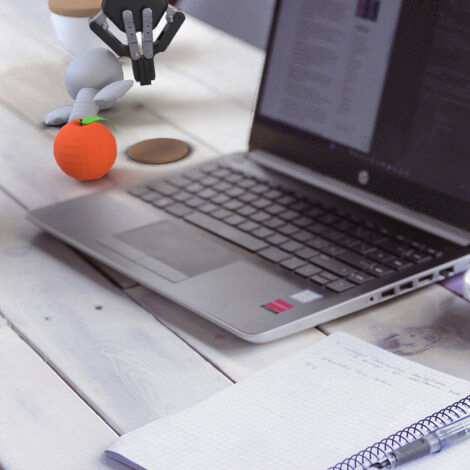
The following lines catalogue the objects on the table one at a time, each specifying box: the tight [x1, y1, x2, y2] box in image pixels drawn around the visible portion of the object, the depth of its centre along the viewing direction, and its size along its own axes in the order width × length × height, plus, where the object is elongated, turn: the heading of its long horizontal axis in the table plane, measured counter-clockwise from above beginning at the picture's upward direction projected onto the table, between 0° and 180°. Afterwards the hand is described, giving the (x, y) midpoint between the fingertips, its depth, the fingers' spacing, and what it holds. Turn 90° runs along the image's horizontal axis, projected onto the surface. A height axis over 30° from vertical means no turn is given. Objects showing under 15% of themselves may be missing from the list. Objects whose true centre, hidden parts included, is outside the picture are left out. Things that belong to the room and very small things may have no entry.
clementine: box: [52, 116, 118, 182], centre depth 107 cm, size 8×7×7 cm
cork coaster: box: [128, 137, 189, 164], centre depth 115 cm, size 7×7×1 cm
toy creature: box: [44, 47, 135, 126], centre depth 124 cm, size 13×7×20 cm
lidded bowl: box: [47, 0, 128, 59], centre depth 146 cm, size 13×13×11 cm
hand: (145, 83), depth 128 cm, fingers closed
